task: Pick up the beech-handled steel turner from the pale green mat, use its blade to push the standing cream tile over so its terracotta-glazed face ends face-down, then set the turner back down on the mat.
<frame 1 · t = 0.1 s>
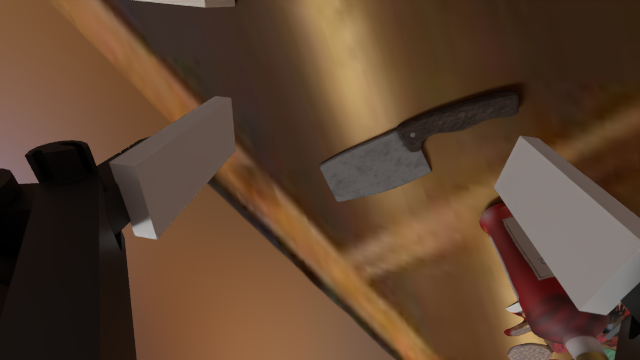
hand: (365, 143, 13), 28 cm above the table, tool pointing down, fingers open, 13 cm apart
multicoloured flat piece: (574, 332, 61), on the table
cleaver: (408, 148, 44), on the table
liquor: (499, 213, 47), on the table
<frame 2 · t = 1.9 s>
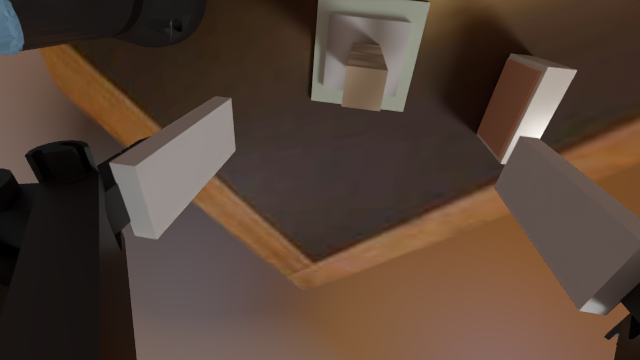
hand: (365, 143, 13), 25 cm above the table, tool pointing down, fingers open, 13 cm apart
tile: (502, 98, 35), on the table
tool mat: (364, 55, 34), on the table
turner: (364, 56, 34), point 1 cm above the table, touching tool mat
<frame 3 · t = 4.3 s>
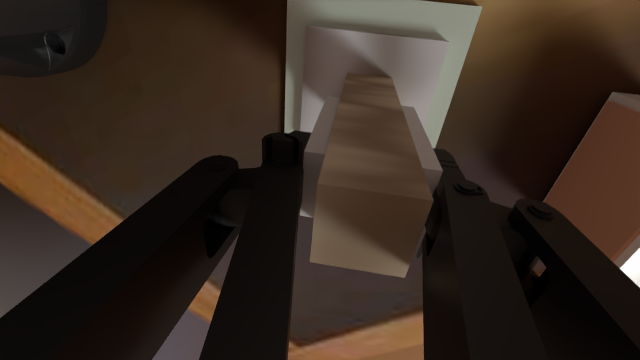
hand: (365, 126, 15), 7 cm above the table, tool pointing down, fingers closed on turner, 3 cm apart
tile: (587, 159, 22), on the table
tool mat: (365, 91, 21), on the table
turner: (365, 93, 21), point 1 cm above the table, touching gripper
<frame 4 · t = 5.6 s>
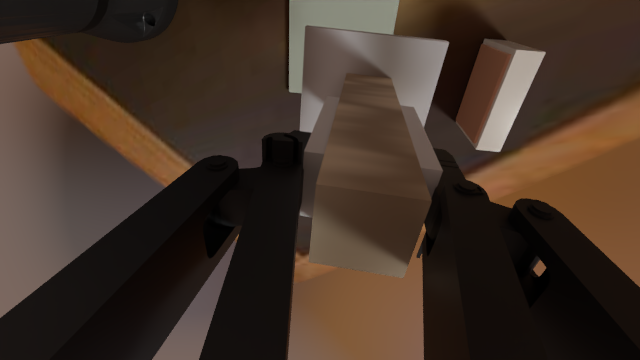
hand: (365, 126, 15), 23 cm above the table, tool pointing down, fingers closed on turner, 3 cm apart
tile: (479, 84, 35), on the table
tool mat: (339, 45, 34), on the table
turner: (365, 93, 21), point 16 cm above the table, touching gripper
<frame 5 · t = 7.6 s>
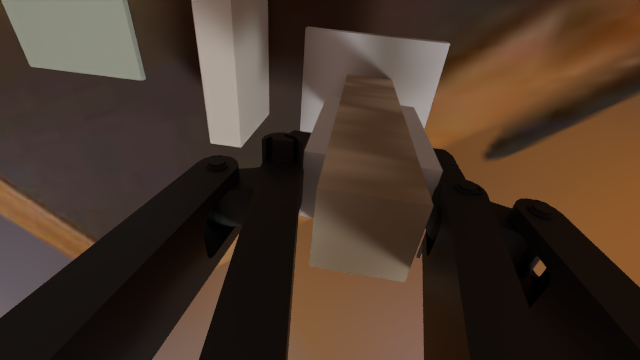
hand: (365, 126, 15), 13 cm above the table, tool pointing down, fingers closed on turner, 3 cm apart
tile: (255, 60, 27), on the table
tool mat: (67, 3, 26), on the table
turner: (365, 95, 21), point 6 cm above the table, touching gripper
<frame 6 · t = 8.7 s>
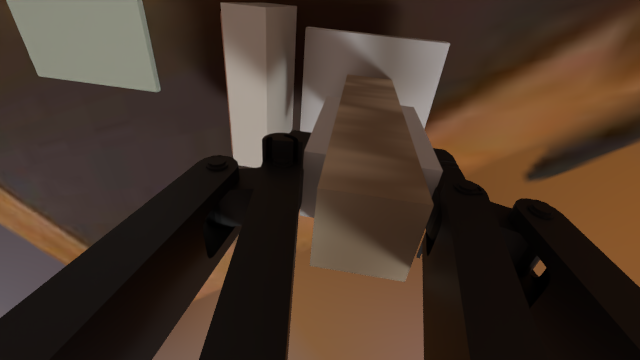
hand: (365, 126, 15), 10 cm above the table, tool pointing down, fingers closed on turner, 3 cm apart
tile: (280, 72, 25), on the table
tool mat: (79, 10, 24), on the table
turner: (365, 95, 21), point 4 cm above the table, touching gripper
when the fingers open (9 cm above the table, at t = 15.3 s): turner drops 2 cm, resting on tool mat.
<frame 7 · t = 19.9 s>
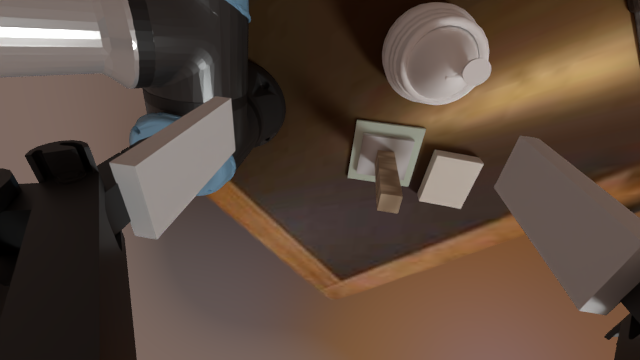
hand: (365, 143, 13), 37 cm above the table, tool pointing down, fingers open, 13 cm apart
honey pot: (424, 51, 44), on the table
tile: (469, 183, 53), point 1 cm above the table, tilted 90°
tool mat: (383, 153, 54), on the table
turner: (383, 155, 53), point 1 cm above the table, touching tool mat
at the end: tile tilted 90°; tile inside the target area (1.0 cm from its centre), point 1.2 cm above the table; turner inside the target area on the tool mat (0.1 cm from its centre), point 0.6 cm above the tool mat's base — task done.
